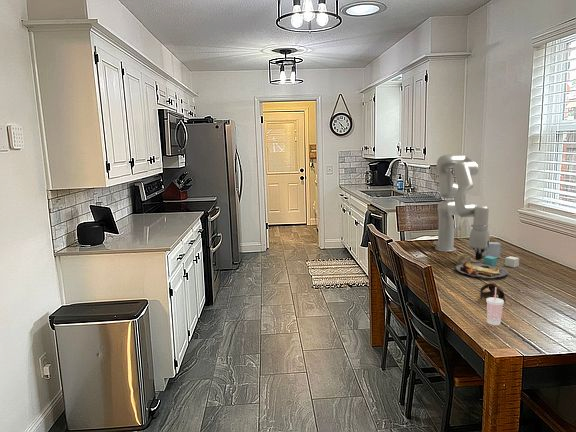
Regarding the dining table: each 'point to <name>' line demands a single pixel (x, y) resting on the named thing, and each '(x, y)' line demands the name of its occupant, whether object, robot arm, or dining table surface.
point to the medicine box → (493, 250)
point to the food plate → (480, 270)
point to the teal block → (490, 260)
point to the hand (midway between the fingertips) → (478, 259)
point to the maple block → (463, 258)
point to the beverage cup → (494, 309)
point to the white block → (512, 261)
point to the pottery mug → (492, 291)
